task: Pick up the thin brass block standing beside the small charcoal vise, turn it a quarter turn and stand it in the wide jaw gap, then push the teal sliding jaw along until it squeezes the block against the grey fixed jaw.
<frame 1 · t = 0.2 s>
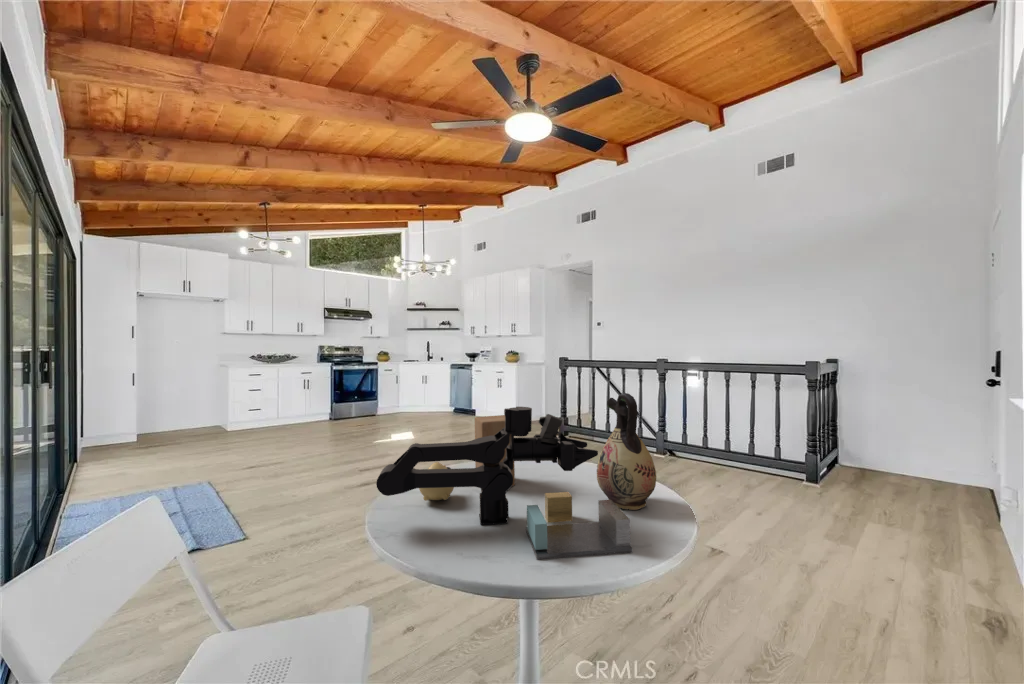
hand: (592, 448, 118), 16 cm above the table, tool horizontal, fingers open, 9 cm apart
wooden block: (494, 483, 145), on the table
brass block: (558, 519, 115), on the table
vise base: (576, 541, 103), on the table
sliding jaw: (536, 526, 101), point 4 cm above the table, slide at 0.0 cm
toy pig: (437, 500, 130), on the table
ceramic jug: (627, 506, 124), on the table
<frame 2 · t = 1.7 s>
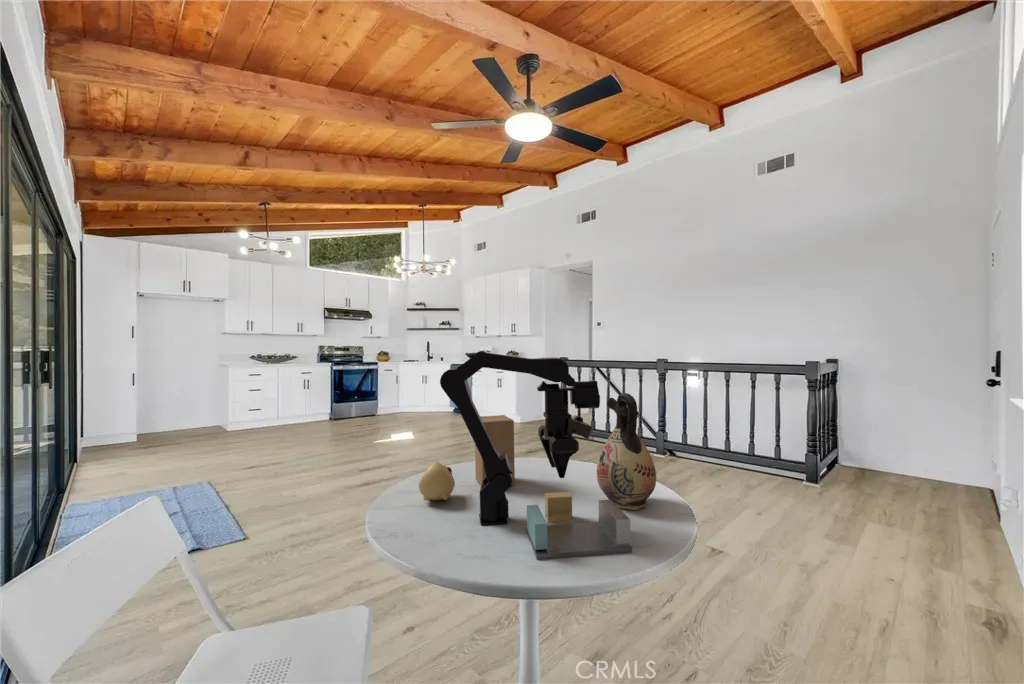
hand: (557, 472, 115), 11 cm above the table, tool pointing down, fingers open, 9 cm apart
nothing on the table moved.
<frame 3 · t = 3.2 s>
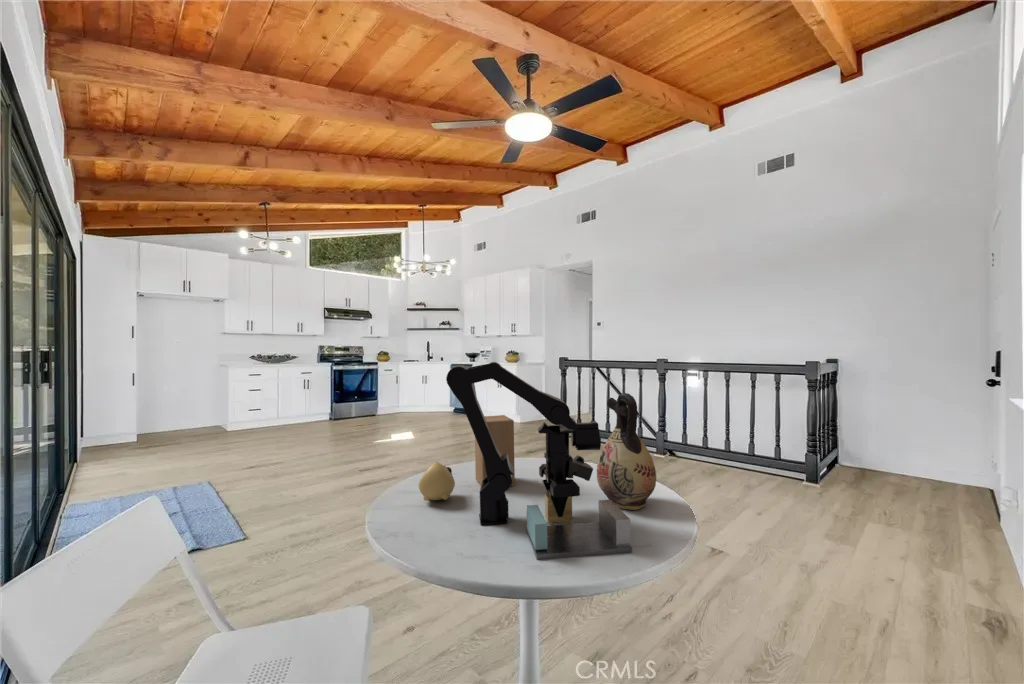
hand: (558, 513, 115), 1 cm above the table, tool pointing down, fingers closed on brass block, 3 cm apart
brass block: (558, 518, 115), on the table, touching gripper
everything else where it was.
when the fingers open (3 cm above the table, at t = 7.8 s): brass block stays where it is, resting on vise base.
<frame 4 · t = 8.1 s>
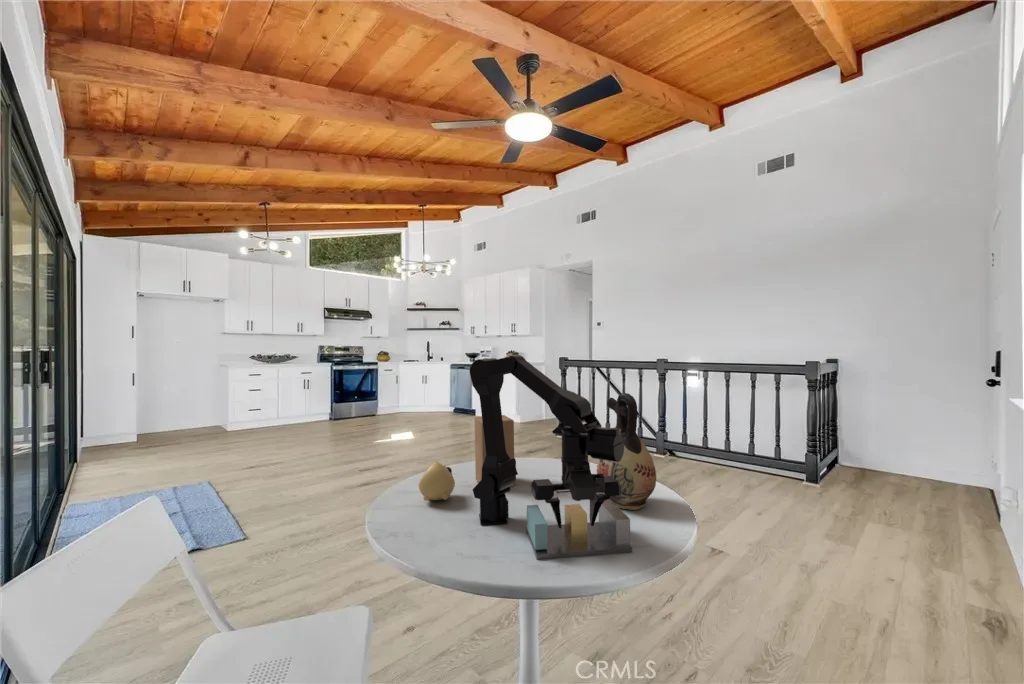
hand: (575, 526, 103), 3 cm above the table, tool pointing down, fingers open, 7 cm apart
brass block: (575, 536, 103), point 1 cm above the table, touching vise base
everything else where it was.
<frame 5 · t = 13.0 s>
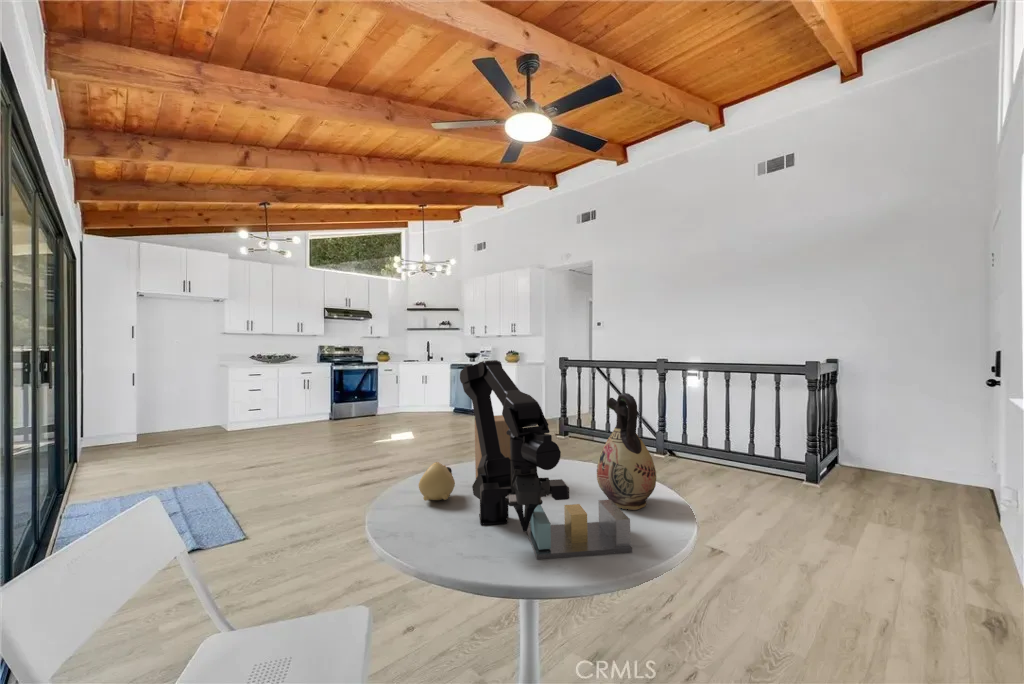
hand: (524, 530, 101), 3 cm above the table, tool pointing down, fingers closed
sliding jaw: (539, 525, 102), point 4 cm above the table, slide at 0.7 cm, touching gripper
everything else where it was.
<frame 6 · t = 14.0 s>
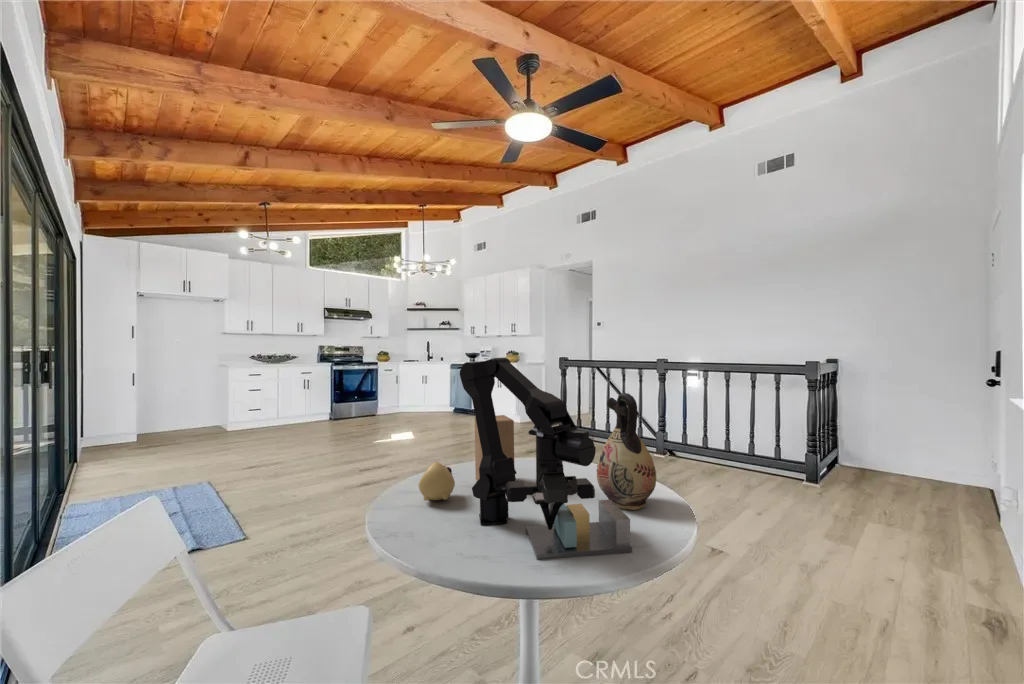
hand: (549, 529, 102), 3 cm above the table, tool pointing down, fingers closed
brass block: (578, 536, 103), point 1 cm above the table
sliding jaw: (564, 524, 102), point 4 cm above the table, slide at 6.2 cm, touching gripper
everything else where it was.
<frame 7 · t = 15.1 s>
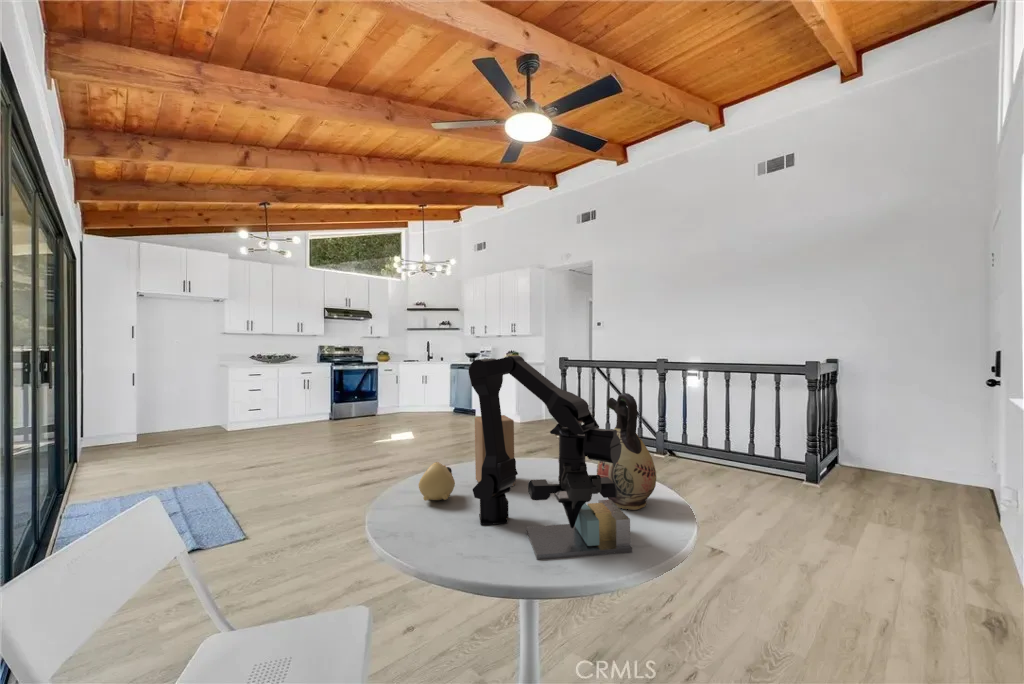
hand: (571, 527, 102), 3 cm above the table, tool pointing down, fingers closed
brass block: (599, 535, 103), point 1 cm above the table, touching sliding jaw, vise base
sliding jaw: (586, 522, 103), point 4 cm above the table, slide at 11.0 cm, touching brass block, gripper
everything else where it was.
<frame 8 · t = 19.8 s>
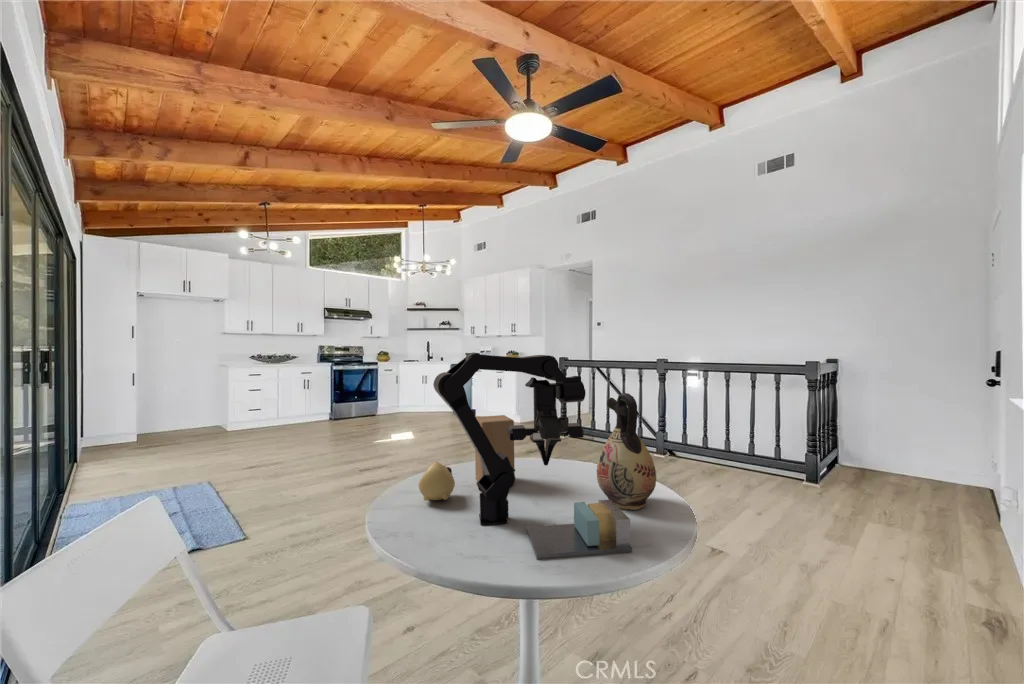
hand: (545, 465, 120), 12 cm above the table, tool pointing down, fingers closed
brass block: (599, 535, 103), point 1 cm above the table, touching vise base
sliding jaw: (586, 522, 103), point 4 cm above the table, slide at 11.0 cm
everything else where it was.
at the end: brass block 0.2 cm from the target spot, point 1.0 cm above the table; brass block tilted 0°; sliding jaw slide at 11.0 cm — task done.
